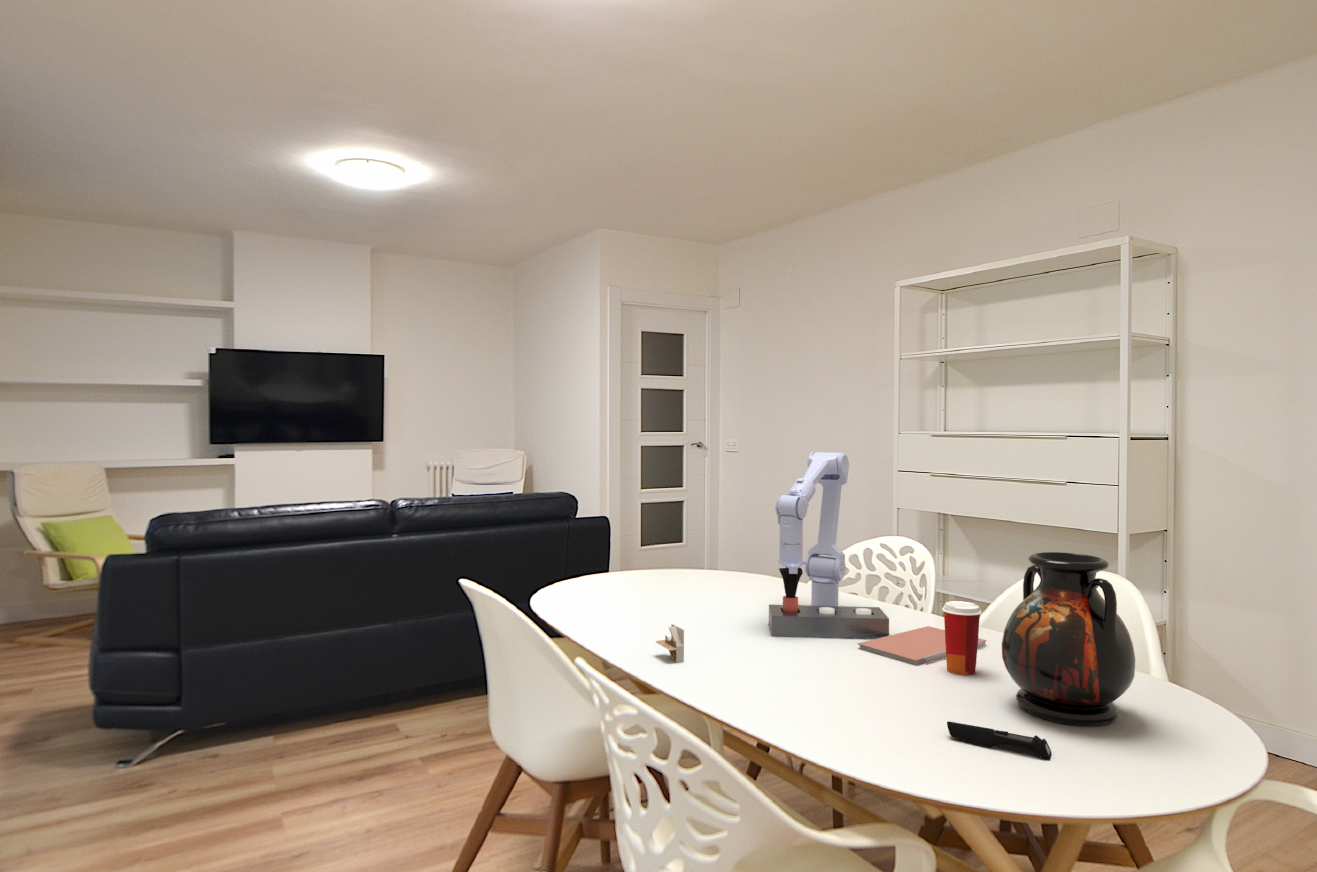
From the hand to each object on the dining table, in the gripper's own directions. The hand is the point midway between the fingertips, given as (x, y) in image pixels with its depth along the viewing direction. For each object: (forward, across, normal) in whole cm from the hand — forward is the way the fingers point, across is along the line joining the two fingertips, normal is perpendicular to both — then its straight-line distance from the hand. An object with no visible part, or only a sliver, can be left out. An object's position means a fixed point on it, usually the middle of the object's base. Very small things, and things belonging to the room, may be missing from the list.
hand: (790, 597), depth 197 cm
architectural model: (+9, -27, +28) cm, 39 cm away
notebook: (+9, -12, -30) cm, 33 cm away
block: (+8, 0, -9) cm, 12 cm away
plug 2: (+8, 0, -18) cm, 20 cm away
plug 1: (+8, 0, -9) cm, 12 cm away
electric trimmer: (+9, -68, -28) cm, 74 cm away
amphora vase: (+9, -51, -45) cm, 69 cm away
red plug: (+5, 0, 0) cm, 5 cm away
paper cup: (+8, -29, -33) cm, 45 cm away
